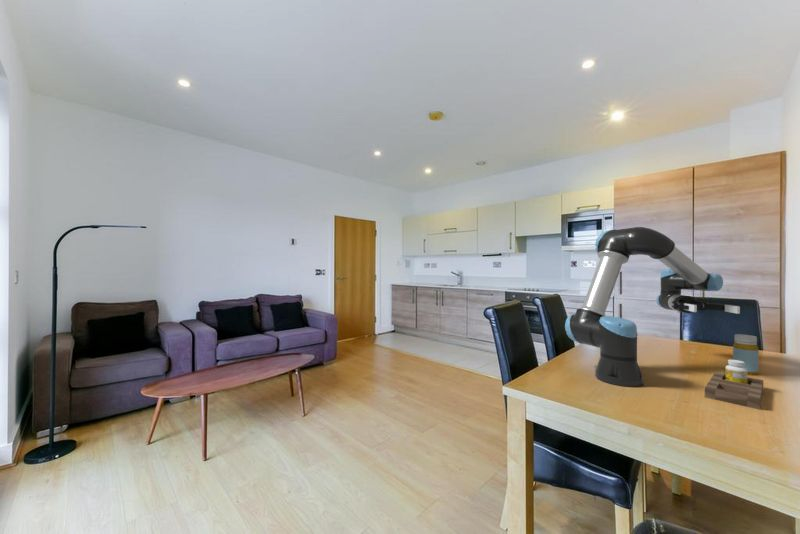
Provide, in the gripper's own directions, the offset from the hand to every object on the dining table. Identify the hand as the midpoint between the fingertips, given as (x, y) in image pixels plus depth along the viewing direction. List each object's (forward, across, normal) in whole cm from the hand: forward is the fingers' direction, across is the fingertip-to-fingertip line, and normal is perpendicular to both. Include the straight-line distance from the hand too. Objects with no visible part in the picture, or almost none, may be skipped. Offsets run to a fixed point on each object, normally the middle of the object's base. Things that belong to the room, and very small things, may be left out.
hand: (716, 309), depth 121 cm
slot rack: (+15, +4, -27) cm, 31 cm away
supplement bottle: (+10, 0, -27) cm, 29 cm away
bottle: (-12, -17, -27) cm, 34 cm away
